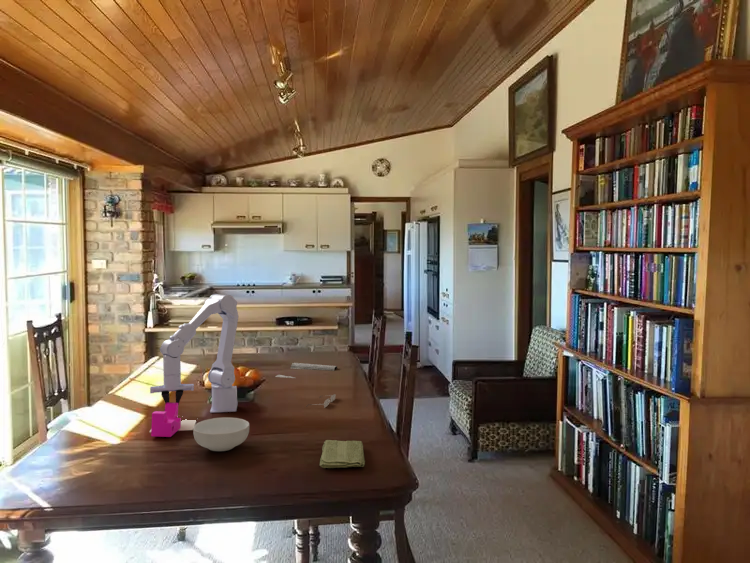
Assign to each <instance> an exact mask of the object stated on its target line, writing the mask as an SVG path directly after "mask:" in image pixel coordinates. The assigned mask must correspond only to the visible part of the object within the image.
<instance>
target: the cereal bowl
mask: <svg viewBox="0 0 750 563" xmlns="http://www.w3.org/2000/svg"><path fill="white" fill-rule="evenodd" d="M192 431H193V433H192V434H193V437H194V441H195V442H196V443H197V444H198V445H199V446H201V447H203V448H205V449H208V450H210V451H211V452H226V451H230V450H232V449H234V448H235V447H237V446H240V445H241V444H242V443H244V442H245V441H246V439H247V438H248V436H249V433H250V422H249V421H248V420H246V419H243V418H239V417H227V416H226V417H213V418H208V419H204V420H201V421H198V422H196V423H195V425H194V428H193V430H192Z"/></svg>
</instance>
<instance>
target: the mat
mask: <svg viewBox="0 0 750 563" xmlns="http://www.w3.org/2000/svg"><path fill="white" fill-rule="evenodd" d="M290 369H295V370H296V369H297V370H313V371H315V370H316V371H332V372H334V371H335V369H338V366H337V365H330V364H329V365H328V364H327V365H325V364H317V363H316V364H313V363H302V362H301V363H300V362H292V364H291V365H290ZM275 378H289V379H296V377H293V376H291V375H290V376H289V375H288V376H287V375H285V374H284V375H282V374H277V375H275Z"/></svg>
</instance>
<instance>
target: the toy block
mask: <svg viewBox="0 0 750 563" xmlns="http://www.w3.org/2000/svg"><path fill="white" fill-rule="evenodd" d="M178 416H179V405H178V403H176V402H170V401H169V402H167V403H166V404H165V405H164V411H160V410H158V411H157V410H154V411H153V412H152V413H151V428H150V430H151V432H150V437H160V438H161V437H162V438H164V437H166V438H171V437H172V436H174V435H175V434H176V433H177V432H179V431H178V430H179V429H180V428H181V418H178Z"/></svg>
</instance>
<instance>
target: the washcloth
mask: <svg viewBox="0 0 750 563" xmlns="http://www.w3.org/2000/svg"><path fill="white" fill-rule="evenodd" d="M321 450H322V453H321V456H320V459H319V466H320V468H323V469H326V468H327V469H336V468H337V469H340V468H341V469H342V468H352V467H354V468H357V467H358V468H359V467H360V468H364V467H365V465H366V460H365V453H364V452H365V451H364V444H363V442H362V441H361V440H346V441H345V440H336V439H334V440H332V439H326V440H325V441H324V442H323V445H322V448H321Z"/></svg>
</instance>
